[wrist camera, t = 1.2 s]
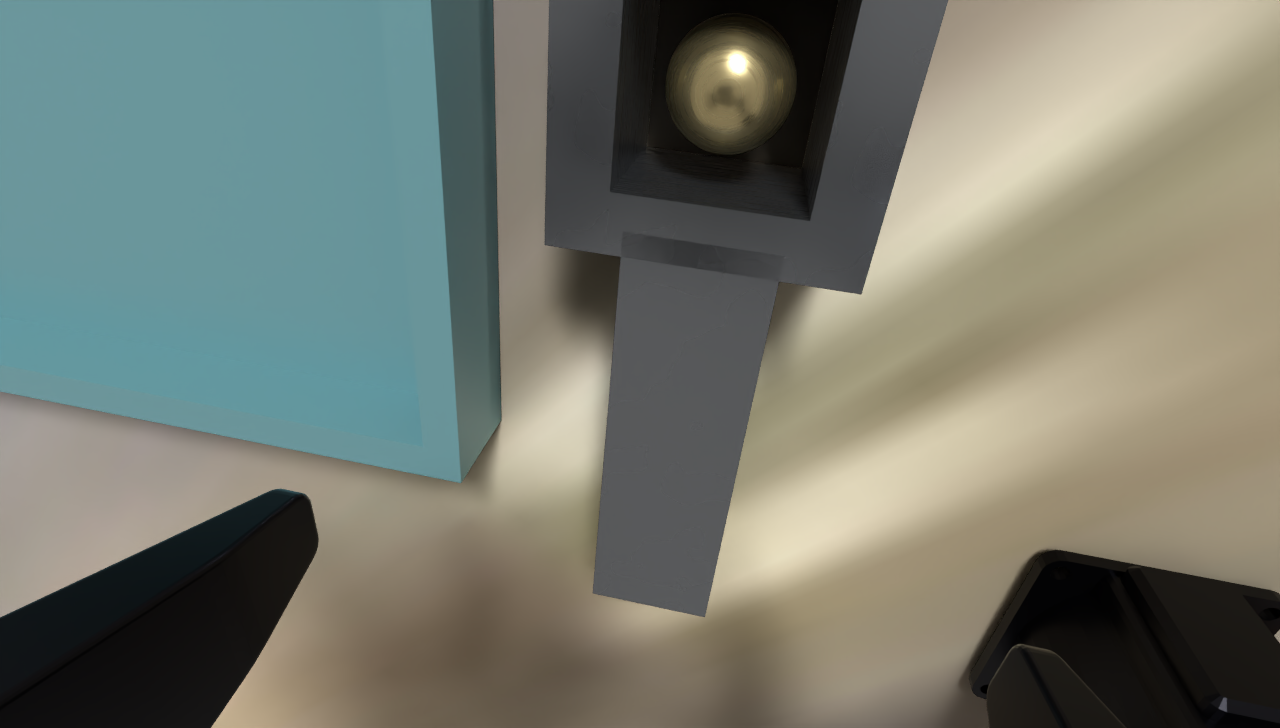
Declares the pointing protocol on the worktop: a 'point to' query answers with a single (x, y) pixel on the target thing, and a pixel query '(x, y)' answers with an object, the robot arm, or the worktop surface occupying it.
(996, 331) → the worktop surface
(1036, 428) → the worktop surface
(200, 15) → the bin
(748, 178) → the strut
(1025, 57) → the worktop surface
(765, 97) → the ball stud
